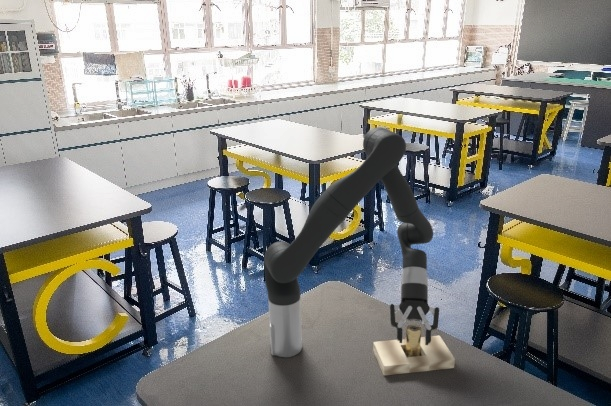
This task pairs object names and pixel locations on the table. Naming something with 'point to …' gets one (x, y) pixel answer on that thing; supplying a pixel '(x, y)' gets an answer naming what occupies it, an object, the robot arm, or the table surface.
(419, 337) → the bushing
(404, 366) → the jig
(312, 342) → the table surface
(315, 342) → the table surface
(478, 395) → the table surface
